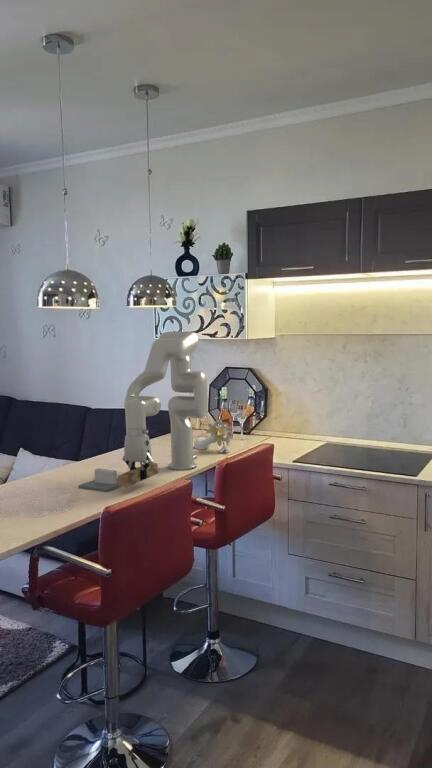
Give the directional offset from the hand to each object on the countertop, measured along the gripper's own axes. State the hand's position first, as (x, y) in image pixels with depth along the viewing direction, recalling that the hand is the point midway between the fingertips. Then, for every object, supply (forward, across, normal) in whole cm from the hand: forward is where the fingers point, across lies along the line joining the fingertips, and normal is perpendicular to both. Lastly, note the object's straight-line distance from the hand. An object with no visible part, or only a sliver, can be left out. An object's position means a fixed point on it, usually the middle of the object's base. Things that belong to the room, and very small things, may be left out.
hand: (138, 478), depth 227 cm
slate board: (+4, +14, +2) cm, 15 cm away
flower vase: (+8, +8, -74) cm, 75 cm away
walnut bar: (0, 0, 0) cm, 1 cm away
